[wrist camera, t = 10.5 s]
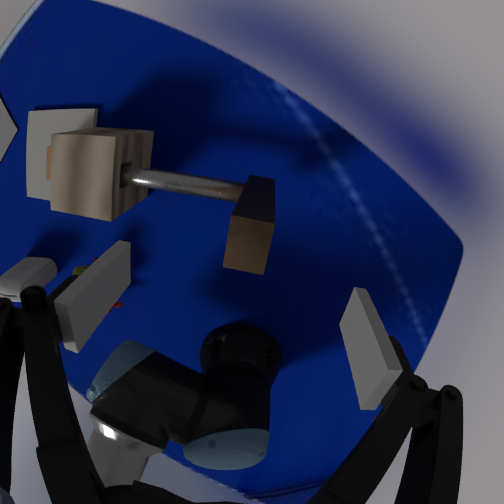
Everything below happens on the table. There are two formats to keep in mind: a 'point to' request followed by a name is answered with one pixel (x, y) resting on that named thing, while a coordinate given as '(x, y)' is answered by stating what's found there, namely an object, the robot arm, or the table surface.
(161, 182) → the handled brown block
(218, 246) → the table surface
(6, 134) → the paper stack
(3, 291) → the photo printer
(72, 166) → the bearing block
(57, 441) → the robot arm
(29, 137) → the mat
